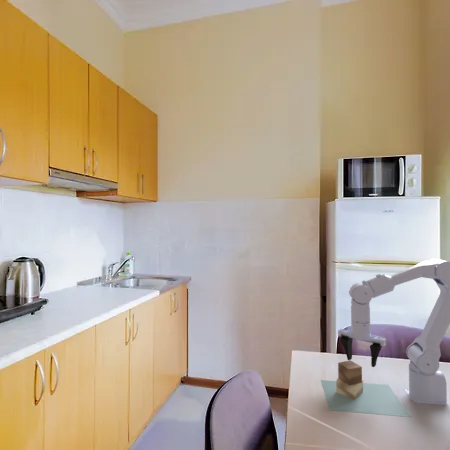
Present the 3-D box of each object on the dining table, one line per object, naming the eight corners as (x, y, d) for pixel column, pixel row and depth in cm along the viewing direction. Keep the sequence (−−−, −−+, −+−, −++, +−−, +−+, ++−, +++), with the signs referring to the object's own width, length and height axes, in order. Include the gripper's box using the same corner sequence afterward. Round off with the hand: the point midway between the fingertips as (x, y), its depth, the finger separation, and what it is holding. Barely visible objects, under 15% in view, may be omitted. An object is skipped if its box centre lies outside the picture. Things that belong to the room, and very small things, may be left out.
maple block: (363, 392, 100) (363, 380, 100) (354, 399, 96) (354, 386, 96) (345, 385, 104) (345, 373, 104) (336, 392, 100) (336, 379, 100)
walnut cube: (361, 382, 98) (361, 366, 98) (349, 385, 96) (349, 369, 96) (350, 375, 103) (350, 360, 103) (338, 378, 101) (338, 362, 101)
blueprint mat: (388, 385, 104) (388, 384, 104) (411, 418, 87) (411, 416, 87) (320, 381, 108) (320, 380, 108) (330, 411, 90) (330, 410, 90)
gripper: (388, 322, 100) (389, 364, 99) (343, 314, 110) (344, 352, 109) (381, 327, 94) (382, 372, 94) (335, 318, 104) (335, 359, 104)
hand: (361, 362), depth 101 cm, fingers open, 7 cm apart
